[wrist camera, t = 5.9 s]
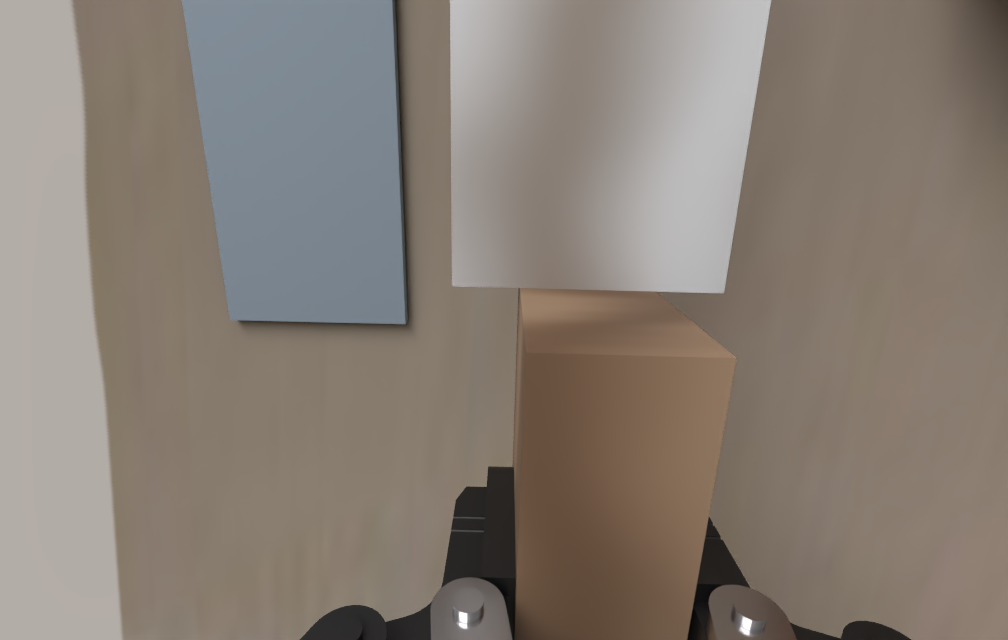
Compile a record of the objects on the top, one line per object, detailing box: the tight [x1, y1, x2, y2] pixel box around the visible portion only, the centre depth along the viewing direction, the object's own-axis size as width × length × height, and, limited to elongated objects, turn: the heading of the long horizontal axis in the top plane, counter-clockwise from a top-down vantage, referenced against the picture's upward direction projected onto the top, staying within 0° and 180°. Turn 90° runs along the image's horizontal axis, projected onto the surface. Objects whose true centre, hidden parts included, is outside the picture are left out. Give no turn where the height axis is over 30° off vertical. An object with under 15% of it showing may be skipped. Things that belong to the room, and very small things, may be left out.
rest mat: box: [182, 0, 408, 324], centre depth 22 cm, size 9×22×1 cm, turn 179°
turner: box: [450, 0, 771, 640], centre depth 10 cm, size 6×19×5 cm, turn 179°
